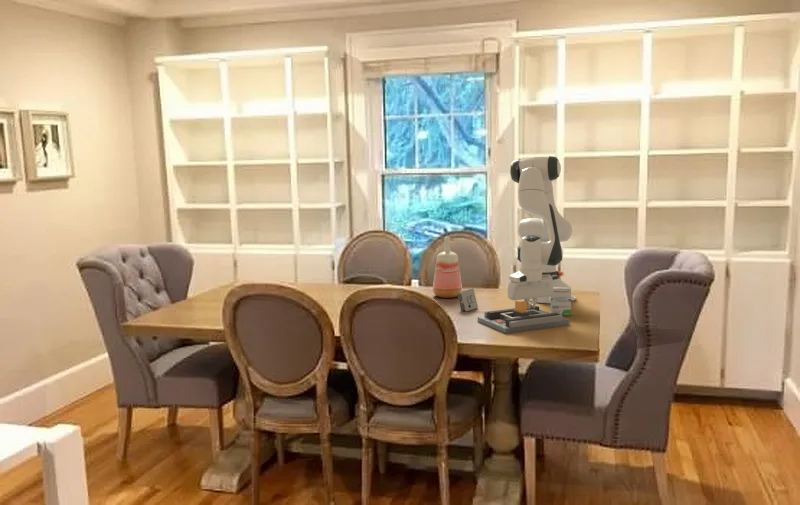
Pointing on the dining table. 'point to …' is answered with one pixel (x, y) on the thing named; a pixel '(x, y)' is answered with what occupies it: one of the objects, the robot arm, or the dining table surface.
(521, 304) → the lever
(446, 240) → the vase
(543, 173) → the robot arm
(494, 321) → the panel
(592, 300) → the dining table surface
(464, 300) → the electrical switch
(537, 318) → the pair of panel rails
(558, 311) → the ink box
